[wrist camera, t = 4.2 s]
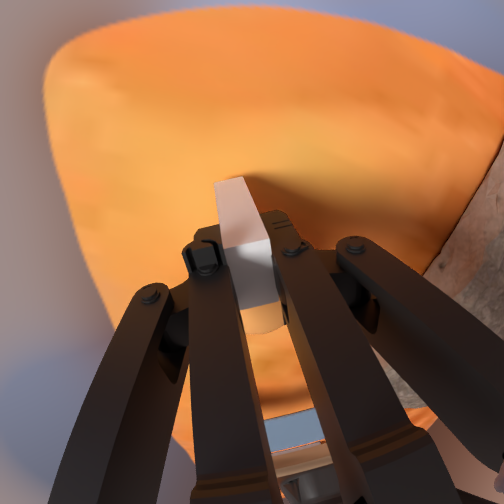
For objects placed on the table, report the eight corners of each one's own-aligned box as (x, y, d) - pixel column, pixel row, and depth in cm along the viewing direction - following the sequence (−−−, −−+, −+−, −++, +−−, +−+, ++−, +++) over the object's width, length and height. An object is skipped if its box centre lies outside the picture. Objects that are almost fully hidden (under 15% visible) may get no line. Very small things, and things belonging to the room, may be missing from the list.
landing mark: (326, 436, 38) (326, 437, 38) (248, 455, 38) (248, 456, 38) (330, 402, 32) (330, 404, 32) (230, 426, 31) (230, 428, 31)
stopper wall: (319, 443, 40) (323, 456, 38) (257, 458, 39) (260, 472, 37) (319, 441, 39) (324, 454, 37) (256, 456, 39) (258, 470, 36)
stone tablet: (498, 103, 16) (333, 374, 29) (577, 134, 9) (361, 441, 22) (553, 197, 23) (435, 372, 36) (596, 228, 16) (461, 414, 29)
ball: (289, 267, 21) (314, 337, 17) (210, 285, 20) (222, 359, 17) (286, 204, 17) (321, 281, 13) (188, 226, 16) (196, 311, 13)
